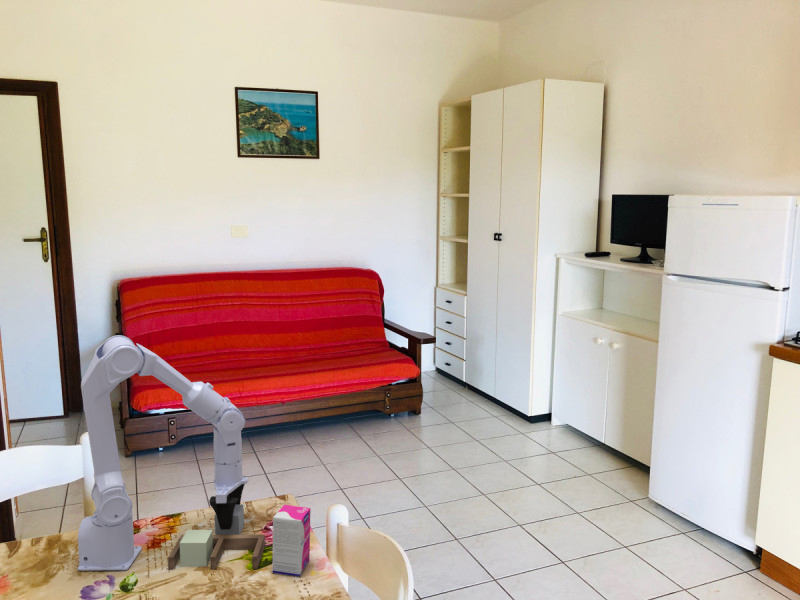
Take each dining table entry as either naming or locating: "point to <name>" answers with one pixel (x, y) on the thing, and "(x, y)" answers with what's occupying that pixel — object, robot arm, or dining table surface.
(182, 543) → the sage block
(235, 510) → the slate block
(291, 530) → the supplement box
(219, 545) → the comb rack
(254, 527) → the dining table surface
